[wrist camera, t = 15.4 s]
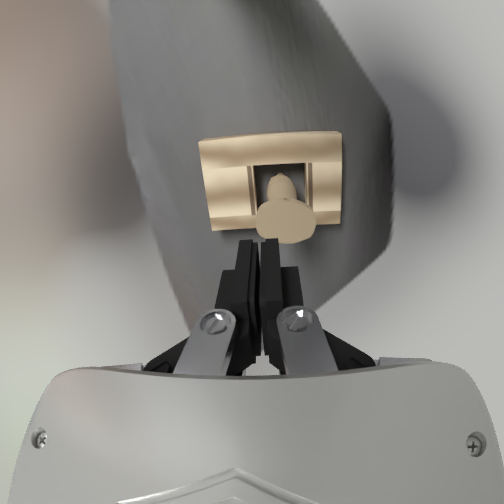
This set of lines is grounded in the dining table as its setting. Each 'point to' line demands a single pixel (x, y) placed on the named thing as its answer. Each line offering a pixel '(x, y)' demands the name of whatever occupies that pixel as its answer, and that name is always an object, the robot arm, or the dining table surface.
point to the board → (264, 153)
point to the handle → (284, 213)
